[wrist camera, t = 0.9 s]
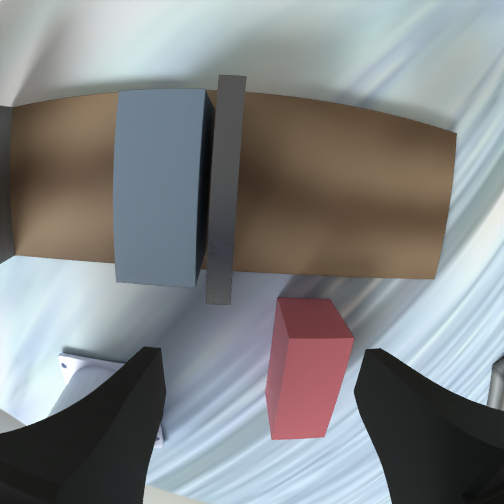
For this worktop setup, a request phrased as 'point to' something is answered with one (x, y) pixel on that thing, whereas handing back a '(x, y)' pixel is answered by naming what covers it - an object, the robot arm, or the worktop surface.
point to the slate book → (161, 185)
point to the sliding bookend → (224, 187)
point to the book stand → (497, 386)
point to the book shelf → (244, 186)
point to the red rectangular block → (305, 367)
